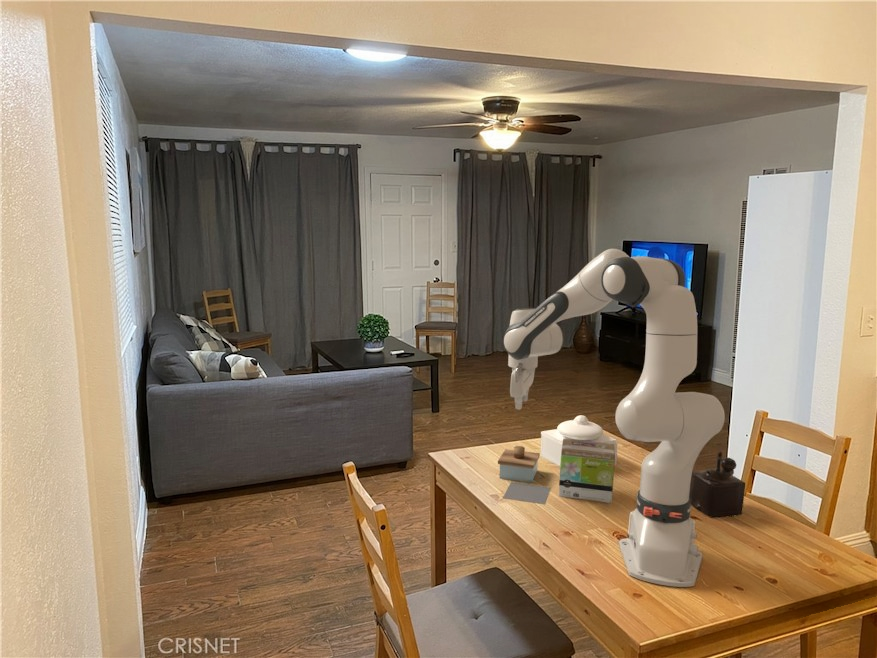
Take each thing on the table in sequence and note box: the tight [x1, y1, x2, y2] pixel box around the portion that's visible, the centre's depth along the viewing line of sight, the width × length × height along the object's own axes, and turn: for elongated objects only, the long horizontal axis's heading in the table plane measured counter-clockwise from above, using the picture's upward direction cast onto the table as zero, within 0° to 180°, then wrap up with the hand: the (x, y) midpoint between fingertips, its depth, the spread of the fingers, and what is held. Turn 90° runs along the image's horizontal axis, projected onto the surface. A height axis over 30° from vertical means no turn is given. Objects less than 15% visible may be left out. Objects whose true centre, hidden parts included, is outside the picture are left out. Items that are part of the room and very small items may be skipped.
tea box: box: [558, 439, 616, 504], centre depth 182 cm, size 15×10×15 cm, turn 76°
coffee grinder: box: [689, 451, 746, 518], centre depth 171 cm, size 16×11×18 cm
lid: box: [497, 445, 541, 469], centre depth 195 cm, size 11×11×4 cm
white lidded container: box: [540, 414, 619, 467], centre depth 208 cm, size 18×18×16 cm
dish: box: [499, 460, 539, 483], centre depth 196 cm, size 10×10×5 cm
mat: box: [502, 481, 552, 505], centre depth 182 cm, size 12×12×1 cm
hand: (521, 404), depth 192 cm, fingers open, 8 cm apart
